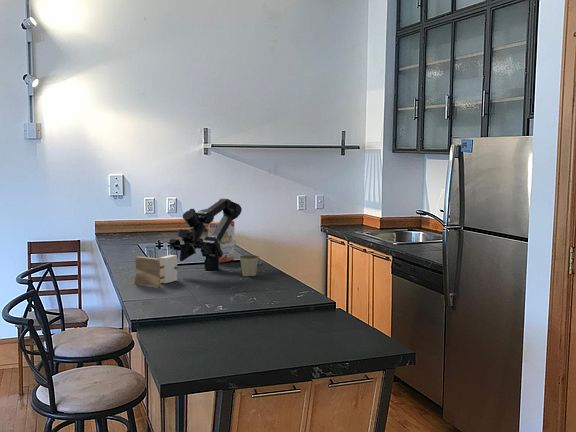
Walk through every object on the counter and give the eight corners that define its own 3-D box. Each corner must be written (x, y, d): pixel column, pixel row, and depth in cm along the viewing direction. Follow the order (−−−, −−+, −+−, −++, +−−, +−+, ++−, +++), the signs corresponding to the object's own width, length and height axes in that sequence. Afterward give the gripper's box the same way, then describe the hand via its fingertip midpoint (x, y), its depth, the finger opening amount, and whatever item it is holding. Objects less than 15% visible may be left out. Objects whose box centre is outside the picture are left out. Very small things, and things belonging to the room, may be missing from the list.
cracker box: (216, 264, 325) (216, 223, 322) (207, 262, 328) (207, 222, 326) (235, 260, 336) (235, 220, 334) (226, 259, 339) (226, 219, 337)
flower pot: (256, 277, 292) (256, 258, 291) (236, 276, 294) (236, 258, 293) (261, 273, 302) (261, 255, 301) (242, 272, 303) (242, 254, 302)
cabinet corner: (154, 278, 290) (153, 251, 289) (179, 281, 283) (179, 254, 282) (131, 284, 277) (131, 256, 275) (157, 287, 270) (156, 259, 269)
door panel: (171, 279, 286) (171, 254, 285) (179, 280, 284) (179, 255, 283) (160, 282, 279) (159, 257, 278) (167, 283, 277) (167, 258, 276)
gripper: (171, 221, 296) (155, 248, 287) (204, 223, 287) (189, 251, 278) (181, 236, 303) (167, 263, 295) (214, 239, 295) (200, 266, 286)
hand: (180, 260), depth 288 cm, fingers closed
